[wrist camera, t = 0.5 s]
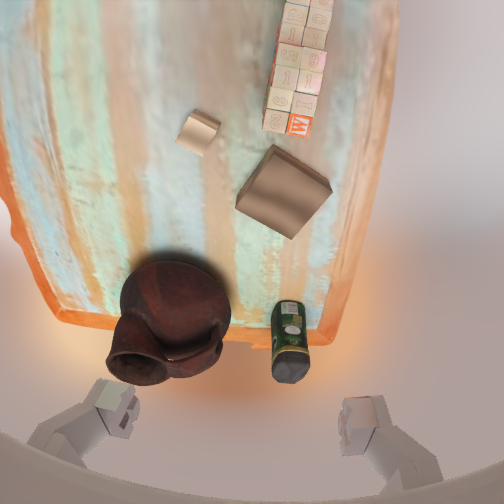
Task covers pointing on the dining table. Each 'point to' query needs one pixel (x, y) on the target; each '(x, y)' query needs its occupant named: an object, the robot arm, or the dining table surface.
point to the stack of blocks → (297, 67)
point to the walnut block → (283, 193)
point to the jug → (168, 324)
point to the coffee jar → (289, 343)
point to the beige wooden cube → (198, 132)
